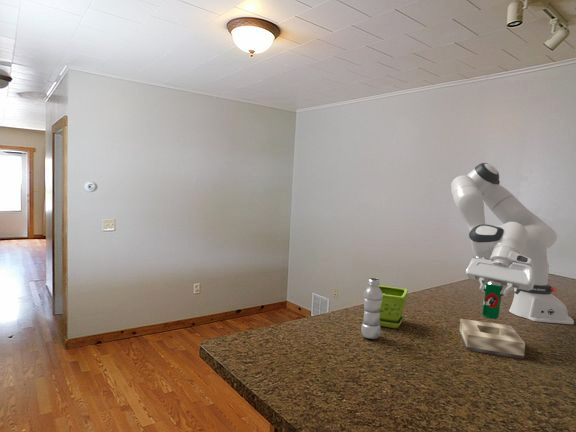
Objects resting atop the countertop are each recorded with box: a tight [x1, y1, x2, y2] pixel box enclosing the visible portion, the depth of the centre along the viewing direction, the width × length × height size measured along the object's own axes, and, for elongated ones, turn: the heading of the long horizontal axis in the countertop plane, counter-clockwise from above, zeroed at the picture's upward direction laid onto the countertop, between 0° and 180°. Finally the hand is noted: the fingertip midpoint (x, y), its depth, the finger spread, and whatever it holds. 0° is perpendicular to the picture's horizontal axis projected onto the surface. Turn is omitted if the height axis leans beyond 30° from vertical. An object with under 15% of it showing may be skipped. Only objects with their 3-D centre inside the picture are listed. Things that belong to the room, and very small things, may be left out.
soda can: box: [481, 280, 504, 320], centre depth 120 cm, size 5×5×12 cm
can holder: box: [458, 318, 526, 360], centre depth 121 cm, size 16×16×5 cm
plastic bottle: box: [360, 277, 384, 340], centre depth 121 cm, size 6×7×20 cm
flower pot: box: [379, 285, 409, 329], centre depth 136 cm, size 14×14×13 cm
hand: (492, 292), depth 119 cm, fingers closed on soda can, 5 cm apart
